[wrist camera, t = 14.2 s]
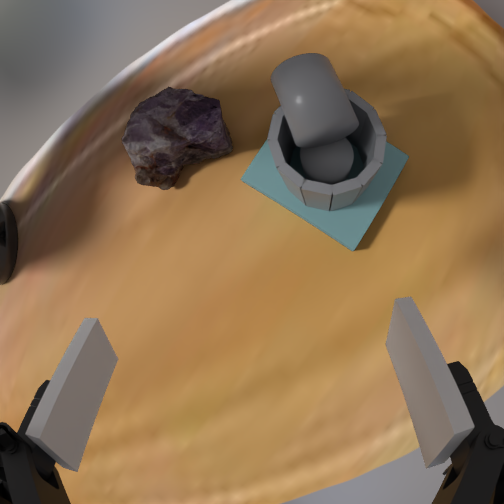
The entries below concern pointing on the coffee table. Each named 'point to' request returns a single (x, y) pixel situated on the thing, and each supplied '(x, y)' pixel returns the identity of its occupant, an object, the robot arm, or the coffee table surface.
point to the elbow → (322, 128)
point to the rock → (174, 135)
